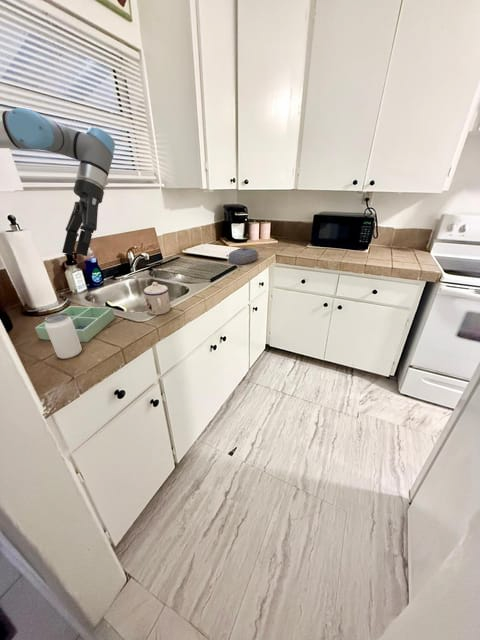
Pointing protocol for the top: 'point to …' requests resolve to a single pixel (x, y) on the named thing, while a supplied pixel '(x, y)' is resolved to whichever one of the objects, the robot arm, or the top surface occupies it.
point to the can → (63, 335)
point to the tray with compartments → (83, 321)
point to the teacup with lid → (157, 299)
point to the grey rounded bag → (243, 256)
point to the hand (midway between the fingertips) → (73, 254)
